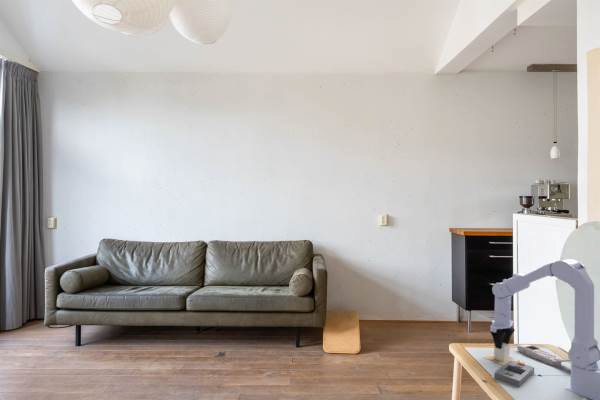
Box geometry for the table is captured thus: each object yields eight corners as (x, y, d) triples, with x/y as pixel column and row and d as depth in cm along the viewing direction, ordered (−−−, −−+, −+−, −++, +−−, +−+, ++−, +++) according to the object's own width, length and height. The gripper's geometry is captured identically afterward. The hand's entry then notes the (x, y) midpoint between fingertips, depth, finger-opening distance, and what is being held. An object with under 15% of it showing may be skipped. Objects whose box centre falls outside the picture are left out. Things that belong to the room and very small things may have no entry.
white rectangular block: (509, 359, 151) (509, 344, 151) (504, 362, 148) (504, 346, 148) (498, 356, 154) (499, 341, 154) (493, 358, 151) (494, 343, 151)
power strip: (510, 367, 146) (510, 358, 146) (534, 375, 140) (534, 365, 140) (494, 381, 135) (494, 370, 135) (519, 389, 129) (519, 379, 129)
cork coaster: (519, 362, 150) (519, 360, 150) (507, 367, 144) (507, 366, 144) (495, 353, 158) (495, 352, 158) (483, 358, 152) (483, 357, 152)
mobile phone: (573, 359, 140) (512, 335, 163) (572, 375, 140) (511, 349, 163) (583, 357, 142) (522, 334, 165) (583, 373, 142) (521, 347, 165)
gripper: (501, 307, 158) (501, 339, 158) (482, 312, 150) (481, 347, 150) (519, 311, 152) (518, 345, 153) (500, 317, 144) (499, 353, 144)
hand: (501, 346), depth 151 cm, fingers open, 4 cm apart
